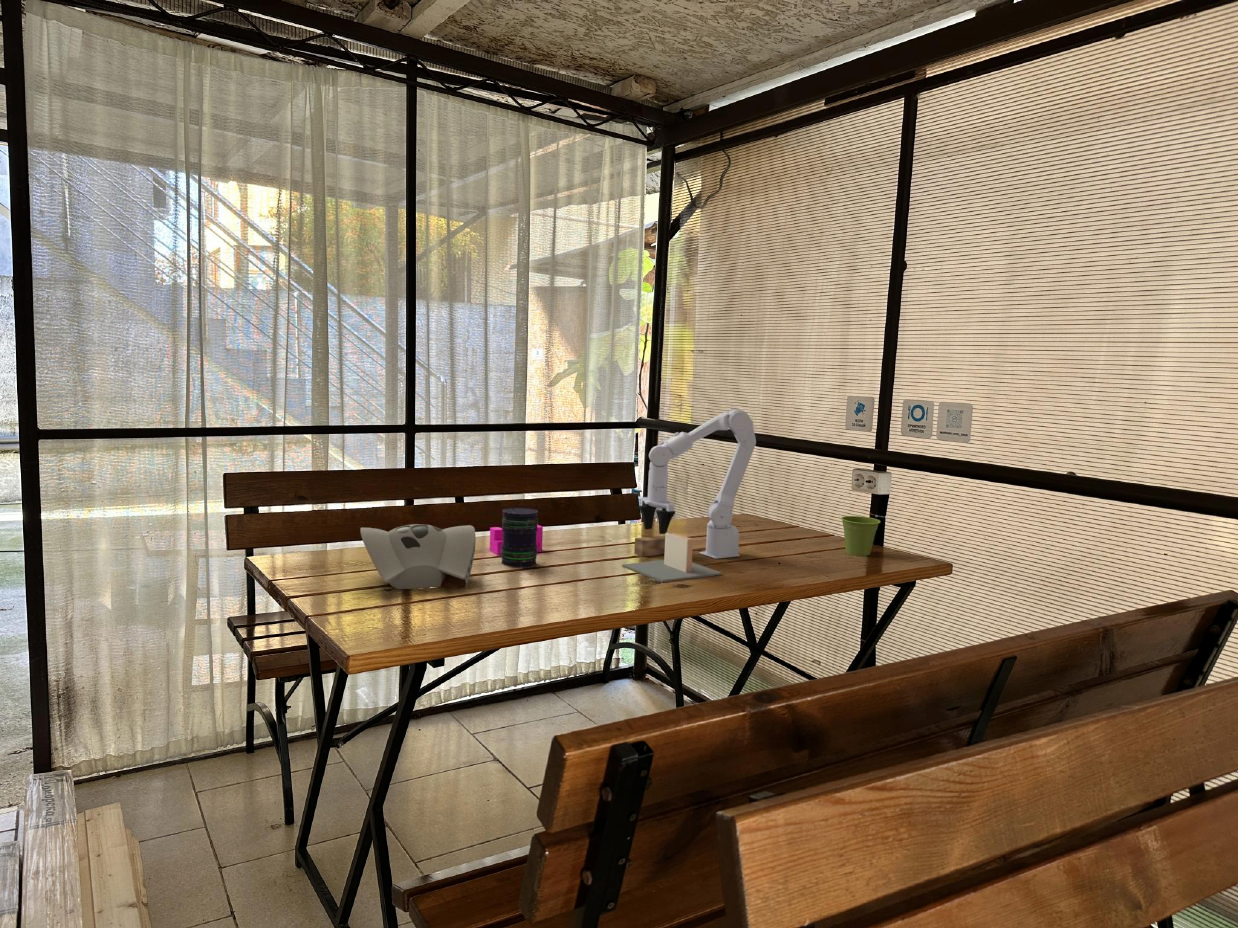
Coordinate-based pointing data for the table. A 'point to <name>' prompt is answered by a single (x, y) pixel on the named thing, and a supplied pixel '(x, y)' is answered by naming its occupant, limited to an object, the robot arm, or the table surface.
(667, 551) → the tile
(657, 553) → the brown wooden block
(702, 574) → the slate mat
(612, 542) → the table surface
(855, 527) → the plant pot
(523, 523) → the storage jar
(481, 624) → the table surface
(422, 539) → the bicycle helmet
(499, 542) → the toy block
